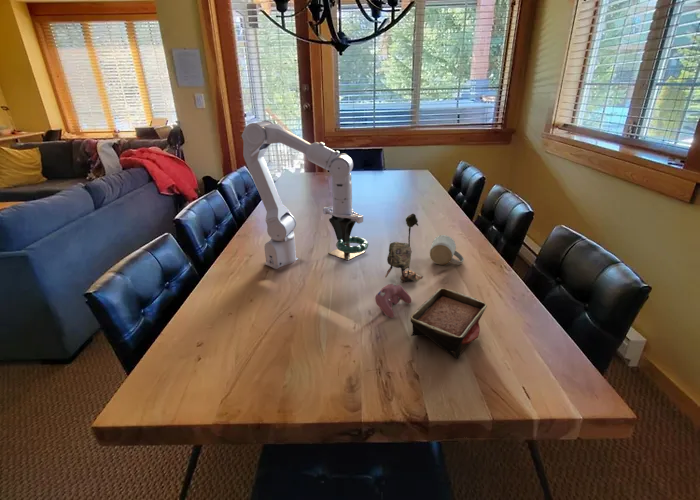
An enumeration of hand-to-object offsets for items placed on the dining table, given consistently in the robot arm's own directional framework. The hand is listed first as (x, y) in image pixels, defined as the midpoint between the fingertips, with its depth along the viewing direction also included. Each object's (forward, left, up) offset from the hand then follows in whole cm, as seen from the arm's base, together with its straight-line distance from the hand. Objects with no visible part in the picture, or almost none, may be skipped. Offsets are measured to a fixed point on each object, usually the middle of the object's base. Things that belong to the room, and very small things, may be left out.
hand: (343, 240), depth 115 cm
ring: (0, -4, 0) cm, 4 cm away
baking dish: (-11, -42, -10) cm, 44 cm away
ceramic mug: (+25, -23, -10) cm, 35 cm away
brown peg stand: (+8, +5, -9) cm, 13 cm away
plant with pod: (+5, -20, -10) cm, 22 cm away
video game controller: (-9, -26, -10) cm, 29 cm away
